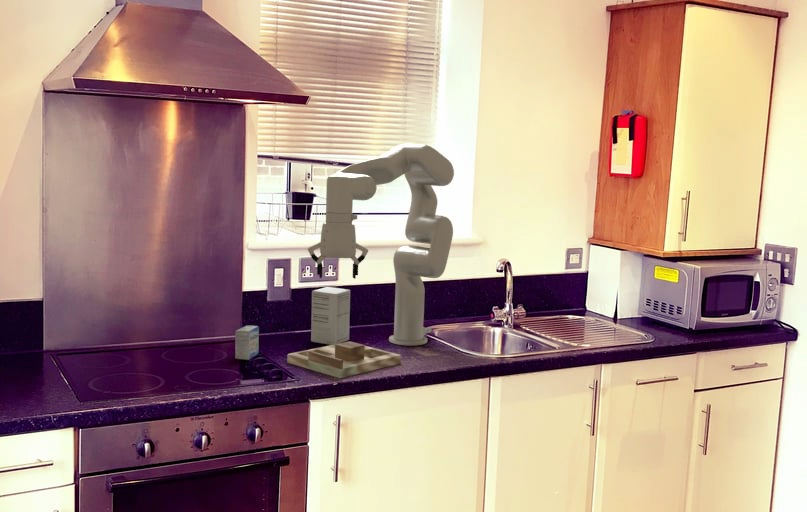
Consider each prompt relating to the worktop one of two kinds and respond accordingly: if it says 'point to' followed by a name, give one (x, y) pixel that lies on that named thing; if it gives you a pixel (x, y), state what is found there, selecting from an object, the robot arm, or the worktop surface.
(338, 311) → the supplement box
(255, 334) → the medicine box
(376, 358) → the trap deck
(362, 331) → the worktop surface
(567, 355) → the worktop surface
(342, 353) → the walnut block
